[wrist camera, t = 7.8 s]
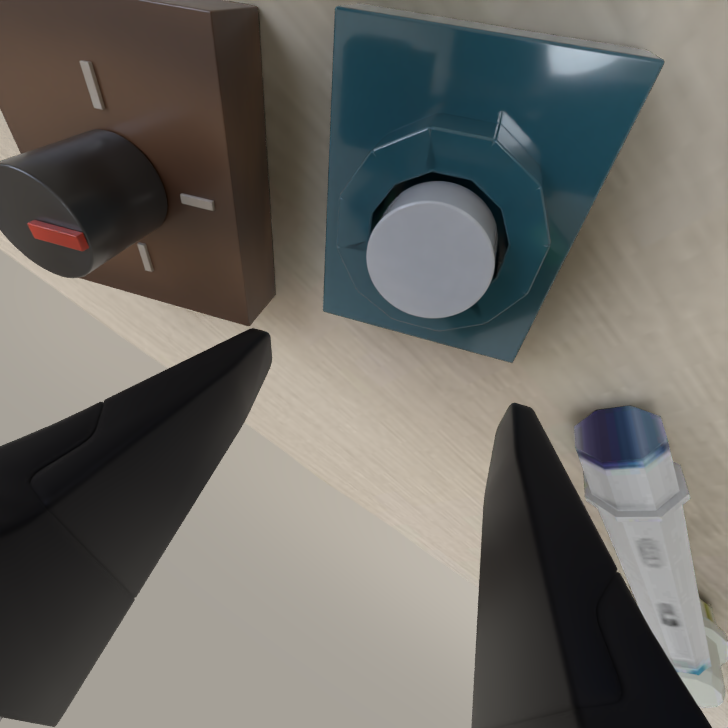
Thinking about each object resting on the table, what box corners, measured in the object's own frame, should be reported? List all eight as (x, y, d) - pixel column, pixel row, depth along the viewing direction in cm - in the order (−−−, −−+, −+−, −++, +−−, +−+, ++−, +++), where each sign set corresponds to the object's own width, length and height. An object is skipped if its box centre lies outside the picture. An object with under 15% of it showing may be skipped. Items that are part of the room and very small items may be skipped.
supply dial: (98, 218, 18) (9, 268, 15) (61, 119, 16) (-57, 154, 12) (177, 239, 18) (101, 294, 15) (154, 140, 15) (54, 182, 12)
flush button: (388, 167, 13) (373, 187, 12) (516, 195, 12) (515, 219, 11) (373, 277, 16) (359, 302, 14) (477, 303, 15) (472, 332, 14)
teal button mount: (357, 2, 13) (309, 8, 10) (649, 49, 12) (685, 70, 9) (337, 287, 21) (307, 335, 18) (514, 334, 20) (511, 392, 17)
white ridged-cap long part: (698, 460, 16) (756, 746, 26) (664, 368, 21) (723, 634, 31) (558, 470, 19) (656, 724, 29) (557, 386, 24) (641, 625, 34)
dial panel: (14, -36, 15) (-73, -38, 13) (258, 6, 14) (207, 10, 12) (117, 251, 24) (74, 279, 22) (276, 294, 22) (247, 329, 20)
